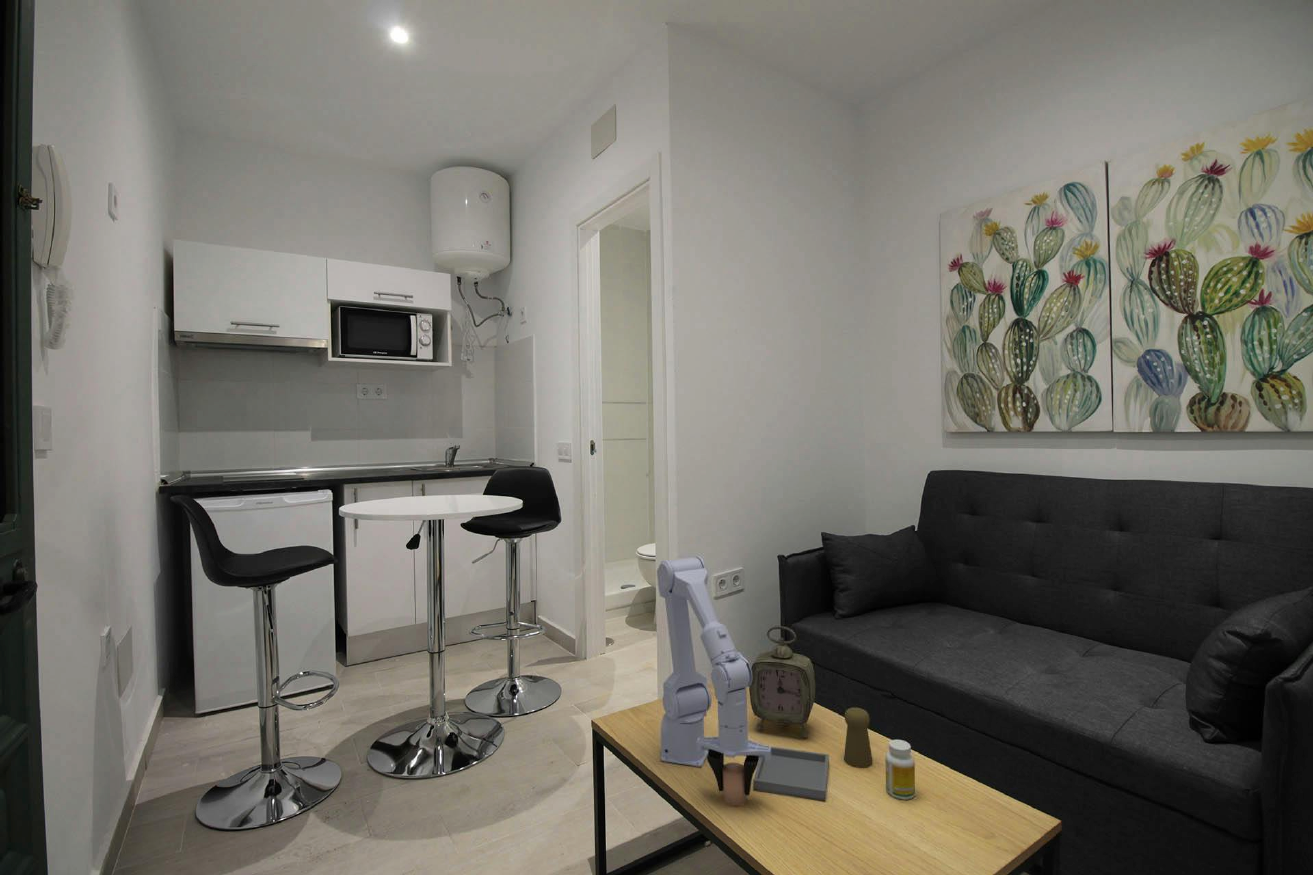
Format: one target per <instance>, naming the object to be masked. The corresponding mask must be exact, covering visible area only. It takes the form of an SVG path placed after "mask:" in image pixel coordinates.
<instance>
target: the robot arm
mask: <svg viewBox="0 0 1313 875" xmlns="http://www.w3.org/2000/svg"><path fill="white" fill-rule="evenodd" d="M708 575H709V574H708V570H707V565H706V563H705V561H704V560H703V558H702V557H701V556H698V555H696V556H694V557H685V558H678V559H672V560H671V559H670V560H666V559H665V560H662V561H661V562H660V563H659V566H658V568H657V571H656V576H657V585H658V586H657V587H658V592H659V597H662V598H664V602H665V611H666V612H665V613H666V619H667V628H668V637H669V638H668V639H669V645H670V653H671V663H672V673H671V674H670V675H669V676H668V677H667V678H666V679H665V681H664V682H663V686H662V687H663V695H662V707H663V710H664V714H663V716H662V718H661V723H660V758H659V759H660V761H661V762H666V763H673V764H679V765H680V764H681V765H686V766H693V767H703V765H704V763H705V761H707V763H708V765H709V766H710V768H711V769H712V772H713V774H714V776H715V780H716V784H717V787H718V788H717V789H718V791H719V792H723V774H722V768H723V766H724V765H725V762H724V761H725V758H731V759H734V758H736V757H737V756H742V757H744V756H745V759H744V761H743V765H744V771H745V795H747V796H750V793H751V790H752V789H751V788H752V787H751V786H752V781H753V778H754V777H753V776H754V775H755V772H756V769H757V766H758V762H759V759H760V758H764V759H765V761H770V760H771V747H772V746H770V745H765V744H762V743H759V742H756V741H753V740H749V733H748V729H749V728H748V727H749V726H748V697H747V696H748V692H747V691H748V690H747V689H748V687H749V686H750V685H751V684H752V678H753V677H752V670H751V667H752V666H750V663H749V661H748V660H747V658H746V657H744V656H743V655H742V653H741V652H738V651H737V649H736V646H735V644H734V642H733V640H732V636H730V632H729V630H728V628H727V626H726V625H725V624H723V623H720V622H719V620H718V618H717V614H716V611H715V608H714V605H713V603H712V600H711V597H710V593H709V591H708V587H707V584H708V578H709V576H708ZM688 604H690V607H691V609H692V610H693V613H694V614H695V617H696V618H697V619H696V620H698V622H699V625H700V627H701V628H702V631H701V635H700V640H701V643H702V645H703V647H704V649H705V652H706V655H707V656H708V660H709V661H710V664H711V667H712V668H711V672H710V677H711V678H710V680H711V683H712V685H713V690H714V697H715V699H716V700H717V721H718V722H717V723H718V727H717V728H718V730H717V731H718V736H710V737H709V736H705V718H704V717H707V714H708V713H707V712H708V711H709V710H710V709H711V706H712V699H713V698H712V694H711V690H710V688H709V686H708V681H707V680H708V679H707V677H706V676H705V675H703V673H701V672H699V671H697V668H696V660H695V652H694V645H693V638H692V631H691V630H692V627H691V622H690V613H689V605H688Z"/></svg>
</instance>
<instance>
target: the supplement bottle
mask: <svg viewBox="0 0 1313 875" xmlns="http://www.w3.org/2000/svg"><path fill="white" fill-rule="evenodd" d="M911 749H912V746H911V744H910V743H909V742H907V741H906V740H902V739H892V740H890V741H889V742H888V751H887V752H886V753H885V757H884V758H885V789H886V792H887V793H888V795H890V796H891V797H893V798H895V799H899V800H903V801H905V800H906V801H907V800H911V799H912V798H914V797H915V795H916V775H915V773H916V770H915V769H916V768H915V766H916V762H915V758H914V757H913V755H912V754H911V753H912V750H911Z"/></svg>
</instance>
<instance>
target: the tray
mask: <svg viewBox="0 0 1313 875" xmlns="http://www.w3.org/2000/svg"><path fill="white" fill-rule="evenodd" d="M829 767H830V756H829V754H828V753H822V752H821V753H819V752H813V751H804V750H797V749H791V748H783V747H777V746H771V760H770V761H765V759H764V758H759V761H758V764H757V767H756V769H755V771H754V775H753V776H754V777H753V778H752V781H753V782H752V784H753V786H752V787H753V791H757V792H758V791H759V792H765V793H771V794H777V795H783V796H791V797H795V798H801V799H808V800H814V801H820V802H826V799H827V789H828V787H827V786H828V778H829V777H828V776H829Z"/></svg>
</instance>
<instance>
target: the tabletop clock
mask: <svg viewBox="0 0 1313 875" xmlns="http://www.w3.org/2000/svg"><path fill="white" fill-rule="evenodd" d="M773 630H784V631H788V632H790V633H791V634H792V635H793V639H791V640H785V639H784V638H783V637H779V638H778V639H774V638H772V637H771V636H770V632H771V631H773ZM766 636H767V638H768V640H770V641H771V642H773V643H775V644H776V645H775V646H774V647H773V648H772V649H771V650H766V651H763V652H759V654H758V656H756V658H755V660H754V661H753V663H752V665H751V666H750V667H751V670H752V677H753V678H752V684H751V685H750V686H749V688H748V689H749V691H748V692H749V702H750V706H751V711H752V713H753V715H754V716H755V717H758V718H759V719H761V720H760V722H759V723H757V724H756V727H755V728H756V730H758V731H762V730H763V729H764V725H763V724H764V723H765V721H769V722H772V723H778V724H782V725H783V726H785V727H786V726H788V725H794V726H795V725H797V726H798V725H799V727H800V729H801V733H800V734H801V737H802V738H803V739H807V738H808V737H809V732H808V731H807V730H805V727H804V724H807V723H808V720H809V717H810V715H811V713H812V710H813V707H814V703H815V696H816V678H815V671H814V666H813V663H812V661H811V658H809V657H807V656H805V655H804V654H800V653H799V654H798V653H794V652H793V651H792V649H791V647H790V646H788V645H790V644H793V643H795V641H796V639H797V635H796V632H794V631H793V629H792V628H789V627H787V626H781V625H774V626H773V627H770V628H769V629H768V630H767V633H766Z"/></svg>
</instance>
